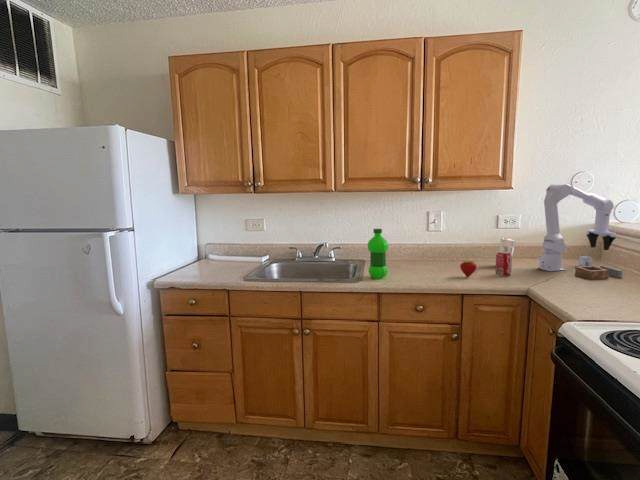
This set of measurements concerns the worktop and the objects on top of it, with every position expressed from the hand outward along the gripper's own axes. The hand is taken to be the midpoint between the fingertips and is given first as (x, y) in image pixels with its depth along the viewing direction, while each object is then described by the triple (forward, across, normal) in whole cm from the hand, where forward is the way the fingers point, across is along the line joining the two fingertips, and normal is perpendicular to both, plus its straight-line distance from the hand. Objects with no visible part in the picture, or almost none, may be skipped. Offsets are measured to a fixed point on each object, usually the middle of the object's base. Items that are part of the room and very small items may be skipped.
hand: (599, 248), depth 184 cm
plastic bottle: (+11, +9, +116) cm, 117 cm away
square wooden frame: (+10, -15, +18) cm, 26 cm away
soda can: (+10, -3, +55) cm, 56 cm away
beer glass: (+10, +14, +42) cm, 46 cm away
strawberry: (+10, -2, +73) cm, 74 cm away
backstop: (+10, -15, +8) cm, 20 cm away
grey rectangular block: (+10, -4, +11) cm, 16 cm away
